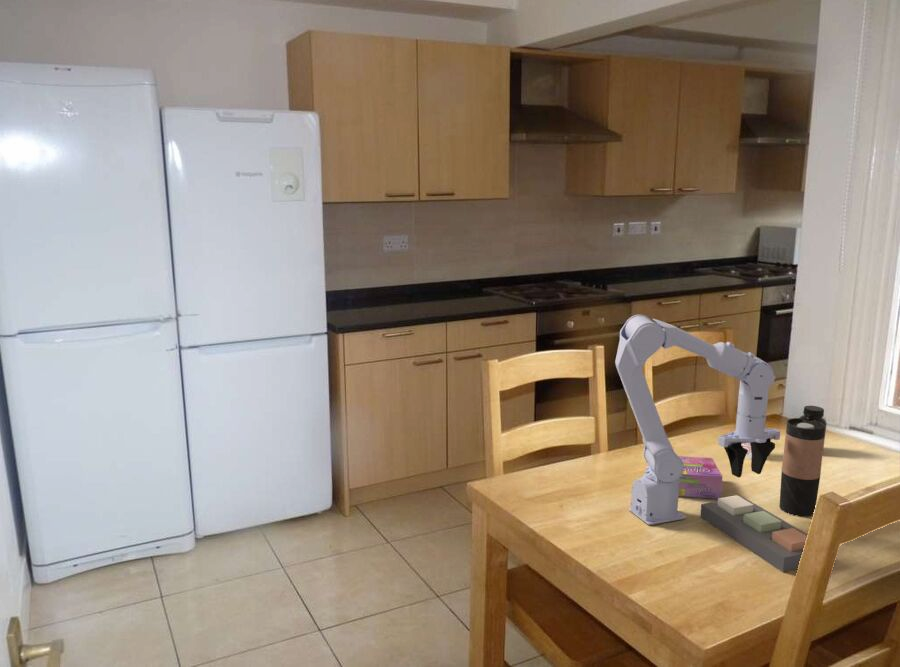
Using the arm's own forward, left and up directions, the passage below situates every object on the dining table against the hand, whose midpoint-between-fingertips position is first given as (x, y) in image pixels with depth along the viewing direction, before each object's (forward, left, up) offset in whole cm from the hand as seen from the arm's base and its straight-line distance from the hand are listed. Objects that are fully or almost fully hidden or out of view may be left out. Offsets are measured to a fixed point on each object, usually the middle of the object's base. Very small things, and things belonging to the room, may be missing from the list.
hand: (746, 473), depth 158 cm
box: (+2, +21, -6) cm, 22 cm away
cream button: (-4, -2, -7) cm, 8 cm away
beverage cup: (+25, +28, -10) cm, 39 cm away
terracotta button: (-4, -18, -7) cm, 20 cm away
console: (-4, -10, -9) cm, 14 cm away
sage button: (-4, -10, -7) cm, 13 cm away
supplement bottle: (+43, +25, -10) cm, 51 cm away
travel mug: (+13, -2, -10) cm, 16 cm away
